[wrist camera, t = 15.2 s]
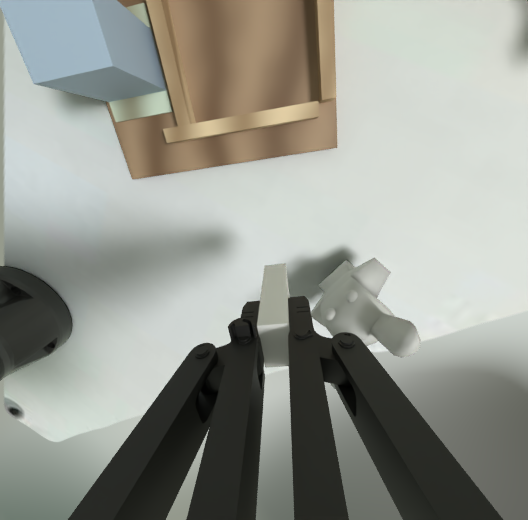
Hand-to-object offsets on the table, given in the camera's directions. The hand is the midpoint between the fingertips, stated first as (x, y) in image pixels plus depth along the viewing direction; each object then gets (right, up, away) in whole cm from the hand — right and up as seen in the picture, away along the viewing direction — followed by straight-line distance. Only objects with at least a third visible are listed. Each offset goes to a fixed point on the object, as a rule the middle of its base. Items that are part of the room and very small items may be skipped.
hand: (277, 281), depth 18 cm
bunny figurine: (+8, 0, +14) cm, 16 cm away
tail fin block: (-13, +19, +5) cm, 24 cm away
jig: (-6, +21, +5) cm, 22 cm away
